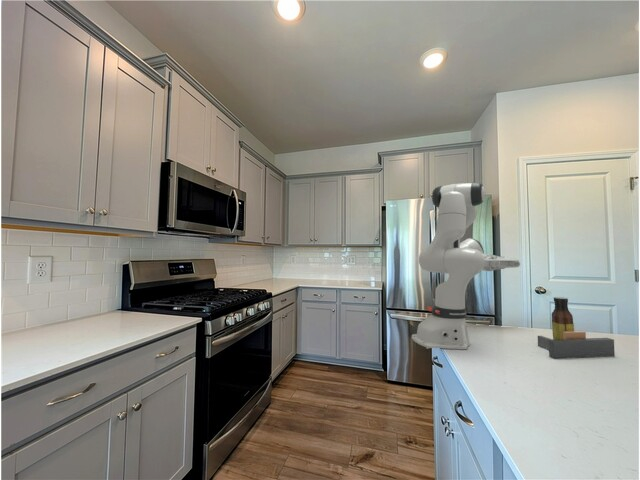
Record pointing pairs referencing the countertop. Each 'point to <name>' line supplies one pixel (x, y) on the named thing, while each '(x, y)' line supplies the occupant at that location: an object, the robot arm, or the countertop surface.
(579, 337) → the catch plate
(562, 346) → the grey base block
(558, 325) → the sauce bottle
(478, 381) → the countertop surface
